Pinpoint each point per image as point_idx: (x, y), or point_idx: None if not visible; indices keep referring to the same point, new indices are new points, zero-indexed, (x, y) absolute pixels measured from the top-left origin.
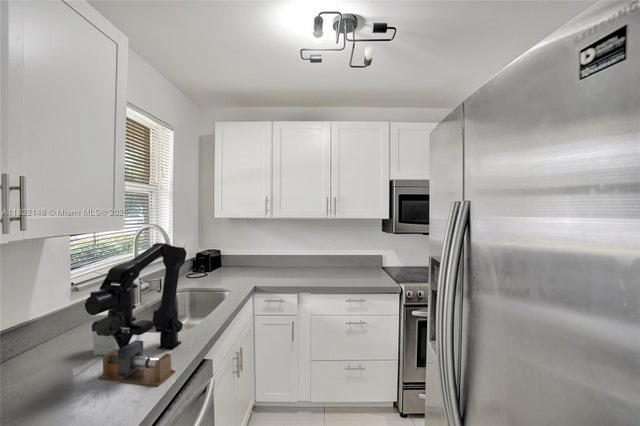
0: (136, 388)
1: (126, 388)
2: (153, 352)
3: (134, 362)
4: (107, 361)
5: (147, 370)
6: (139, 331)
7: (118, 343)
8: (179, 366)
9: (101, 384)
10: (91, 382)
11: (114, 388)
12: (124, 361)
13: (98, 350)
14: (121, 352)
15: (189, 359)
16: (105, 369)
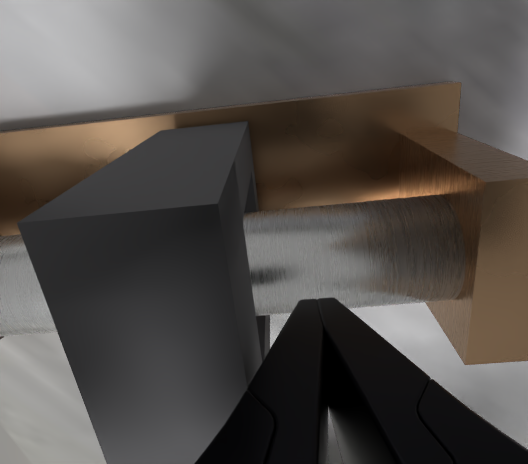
0: (3, 74)
1: (80, 48)
2: (341, 460)
3: None
4: (451, 171)
5: None
6: None
7: (381, 371)
8: (8, 377)
9: (351, 30)
10: (473, 27)
11: (178, 15)
12: (129, 163)
13: None
14: (133, 197)
15: (31, 447)
16: (437, 140)
